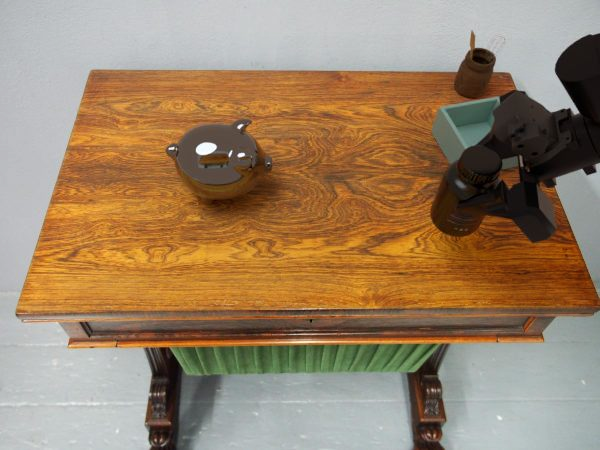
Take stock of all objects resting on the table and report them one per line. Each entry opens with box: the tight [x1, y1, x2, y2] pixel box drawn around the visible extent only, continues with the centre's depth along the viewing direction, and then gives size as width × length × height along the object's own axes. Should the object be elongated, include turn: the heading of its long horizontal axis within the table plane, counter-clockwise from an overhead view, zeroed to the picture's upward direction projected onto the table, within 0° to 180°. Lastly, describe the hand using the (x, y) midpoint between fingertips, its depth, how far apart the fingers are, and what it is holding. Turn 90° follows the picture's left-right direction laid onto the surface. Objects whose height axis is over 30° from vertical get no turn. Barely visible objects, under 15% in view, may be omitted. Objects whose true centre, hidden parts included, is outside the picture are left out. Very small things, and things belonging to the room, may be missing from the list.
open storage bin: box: [430, 96, 518, 171], centre depth 81 cm, size 11×11×6 cm
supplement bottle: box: [429, 145, 503, 238], centre depth 62 cm, size 7×7×12 cm
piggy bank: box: [164, 117, 274, 206], centre depth 72 cm, size 11×15×12 cm
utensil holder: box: [453, 29, 506, 99], centre depth 87 cm, size 6×6×12 cm
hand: (457, 186), depth 62 cm, fingers closed on supplement bottle, 7 cm apart
